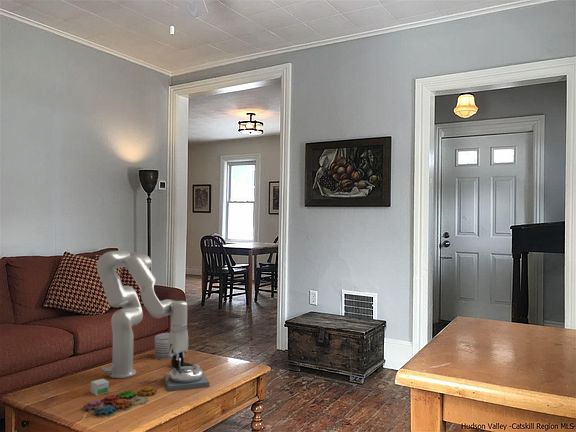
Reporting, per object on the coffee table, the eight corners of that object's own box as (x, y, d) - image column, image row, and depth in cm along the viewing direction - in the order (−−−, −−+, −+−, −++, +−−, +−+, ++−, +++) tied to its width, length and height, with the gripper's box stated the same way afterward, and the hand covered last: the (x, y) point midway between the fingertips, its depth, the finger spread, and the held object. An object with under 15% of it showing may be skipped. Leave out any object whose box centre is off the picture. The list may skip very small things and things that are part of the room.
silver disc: (185, 385, 205) (185, 367, 206) (162, 378, 214) (162, 360, 214) (209, 376, 218) (209, 359, 218) (186, 370, 226) (187, 353, 226)
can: (175, 359, 253) (175, 336, 253) (153, 360, 250) (154, 337, 251) (175, 353, 264) (176, 332, 264) (155, 354, 261) (155, 332, 262)
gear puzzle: (145, 388, 208) (145, 379, 208) (169, 396, 199) (169, 387, 199) (79, 410, 183) (79, 399, 183) (103, 420, 174) (103, 409, 174)
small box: (96, 396, 197) (96, 384, 197) (90, 392, 201) (90, 381, 201) (109, 392, 201) (109, 381, 202) (103, 389, 205) (103, 378, 205)
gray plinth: (168, 391, 204) (168, 379, 204) (163, 378, 221) (163, 367, 221) (209, 386, 211) (209, 375, 211) (201, 374, 227) (201, 364, 228)
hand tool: (198, 372, 231) (198, 363, 231) (191, 374, 228) (191, 364, 228) (176, 364, 244) (176, 355, 244) (169, 366, 241) (169, 357, 241)
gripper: (183, 323, 228) (183, 361, 228) (160, 330, 214) (160, 370, 213) (196, 325, 225) (195, 363, 224) (173, 332, 210) (172, 373, 210)
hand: (178, 366), depth 219 cm, fingers closed on silver disc, 2 cm apart
